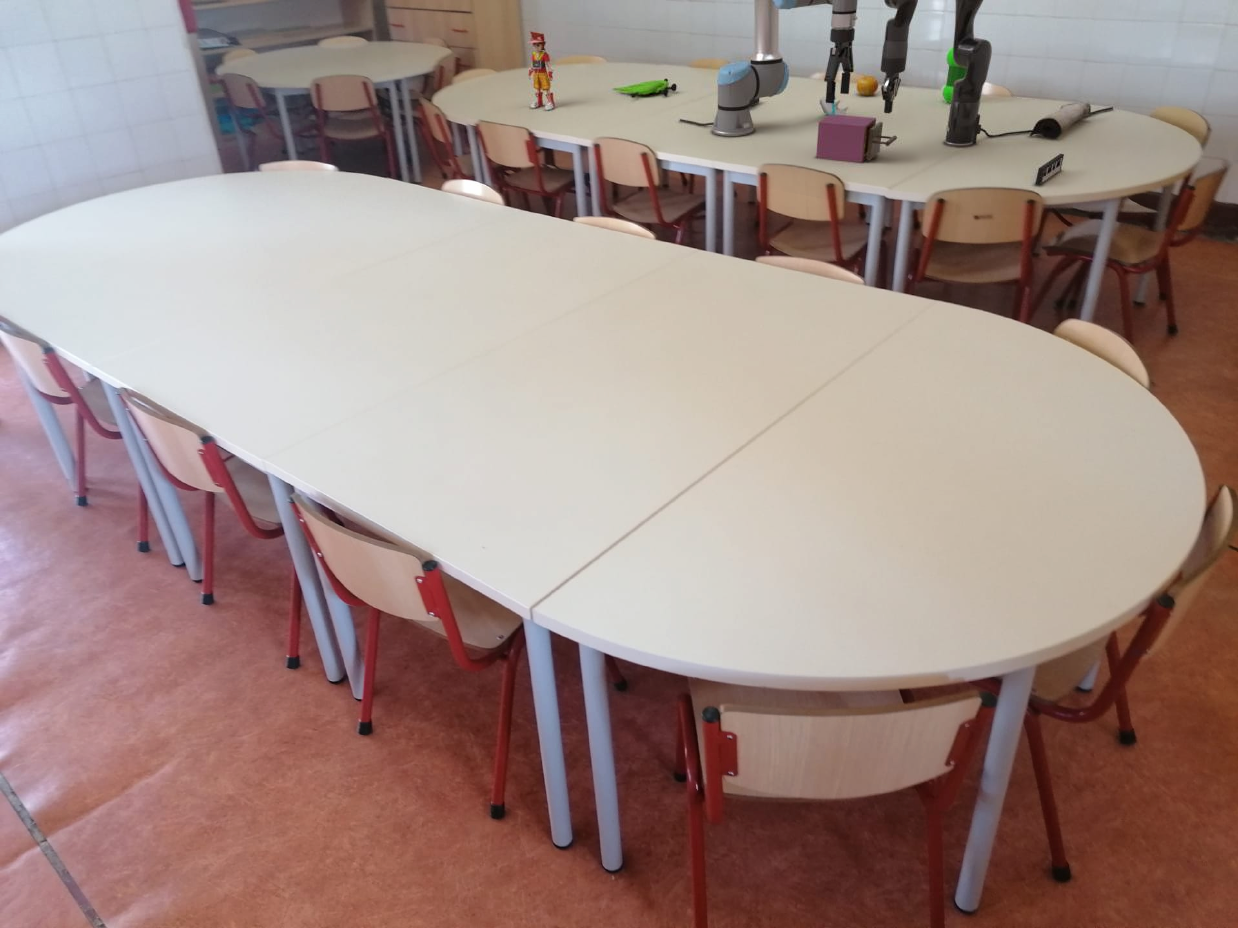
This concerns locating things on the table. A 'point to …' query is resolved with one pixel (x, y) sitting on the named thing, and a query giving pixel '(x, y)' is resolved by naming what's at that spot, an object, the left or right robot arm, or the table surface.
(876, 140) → the drawer
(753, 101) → the disk drive
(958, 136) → the right robot arm
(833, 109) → the anatomical model
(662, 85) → the toy
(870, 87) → the fruit
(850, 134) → the cabinet
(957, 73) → the green dumbbell
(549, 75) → the toy
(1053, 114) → the rolled mat
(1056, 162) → the midi keyboard
